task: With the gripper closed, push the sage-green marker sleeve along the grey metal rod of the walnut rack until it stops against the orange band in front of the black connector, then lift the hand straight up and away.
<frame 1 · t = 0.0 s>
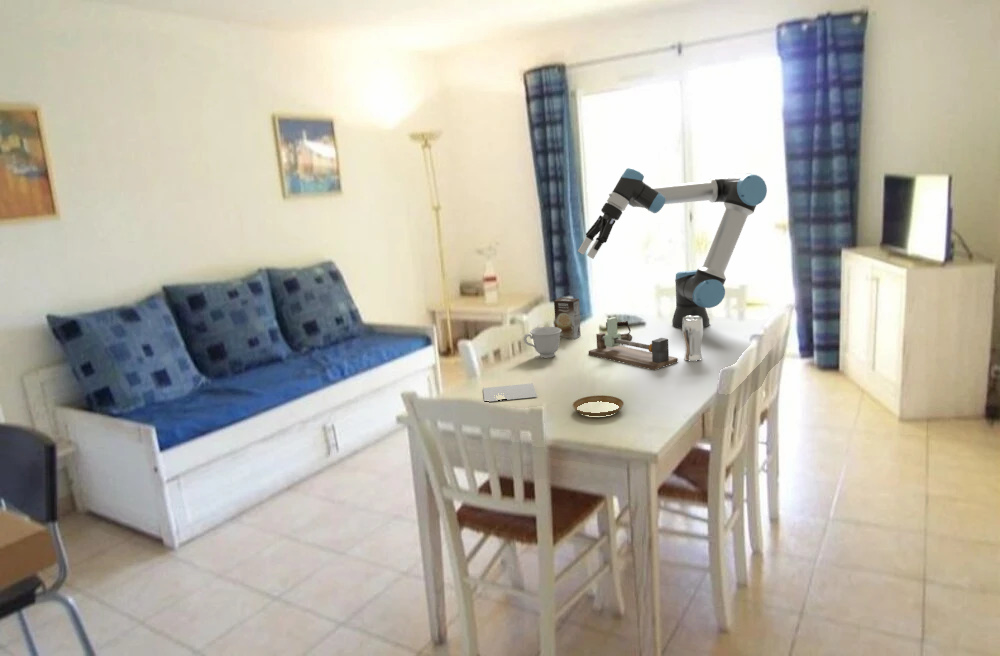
hand: (585, 255, 262), 36 cm above the table, tool tilted 35°, fingers open, 13 cm apart
coffee box: (568, 337, 286), on the table
beer glass: (693, 359, 241), on the table
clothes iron: (617, 340, 275), on the table
rack: (631, 358, 248), on the table
plant saucer: (598, 412, 199), on the table
paper stack: (520, 389, 226), on the table
teacup: (543, 357, 260), on the table
sleeve: (612, 331, 253), point 9 cm above the table, slide at 0.0 cm
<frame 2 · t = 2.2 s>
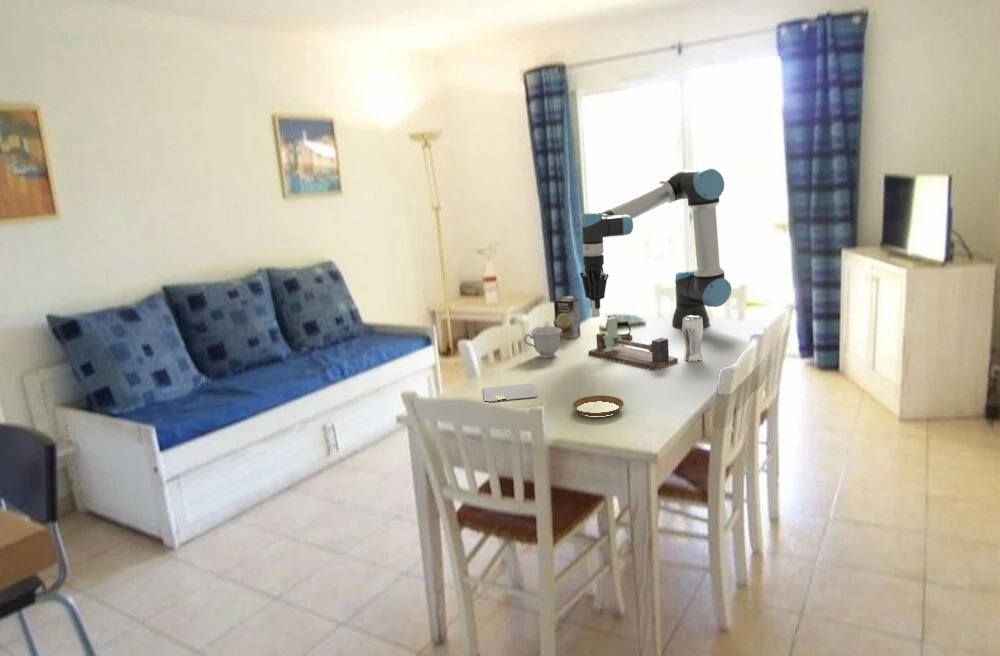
hand: (595, 316, 258), 13 cm above the table, tool pointing down, fingers closed
nothing on the table moved.
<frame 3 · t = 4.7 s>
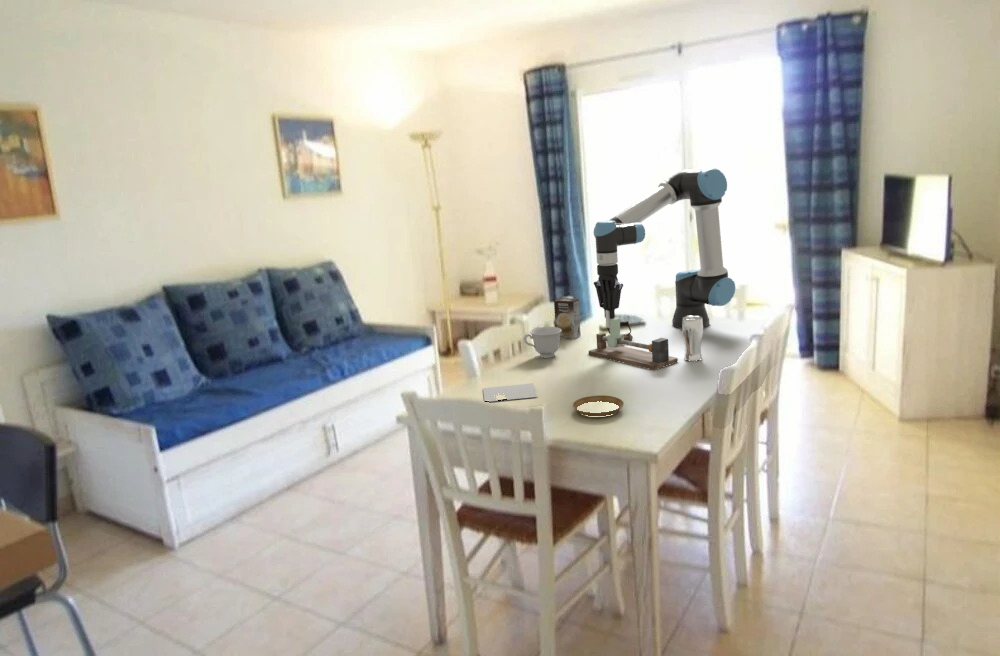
hand: (610, 326, 254), 10 cm above the table, tool pointing down, fingers closed
sleeve: (615, 332, 252), point 9 cm above the table, slide at 1.4 cm, touching gripper
everything else where it was.
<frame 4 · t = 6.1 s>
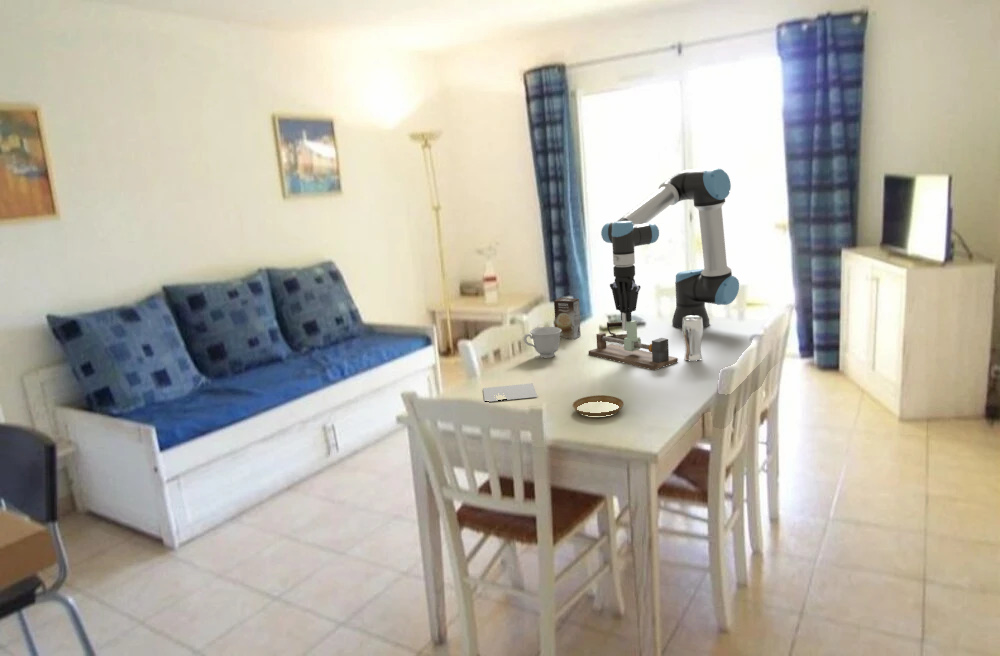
hand: (626, 329, 247), 10 cm above the table, tool pointing down, fingers closed
sleeve: (632, 335, 246), point 9 cm above the table, slide at 9.7 cm, touching gripper
everything else where it was.
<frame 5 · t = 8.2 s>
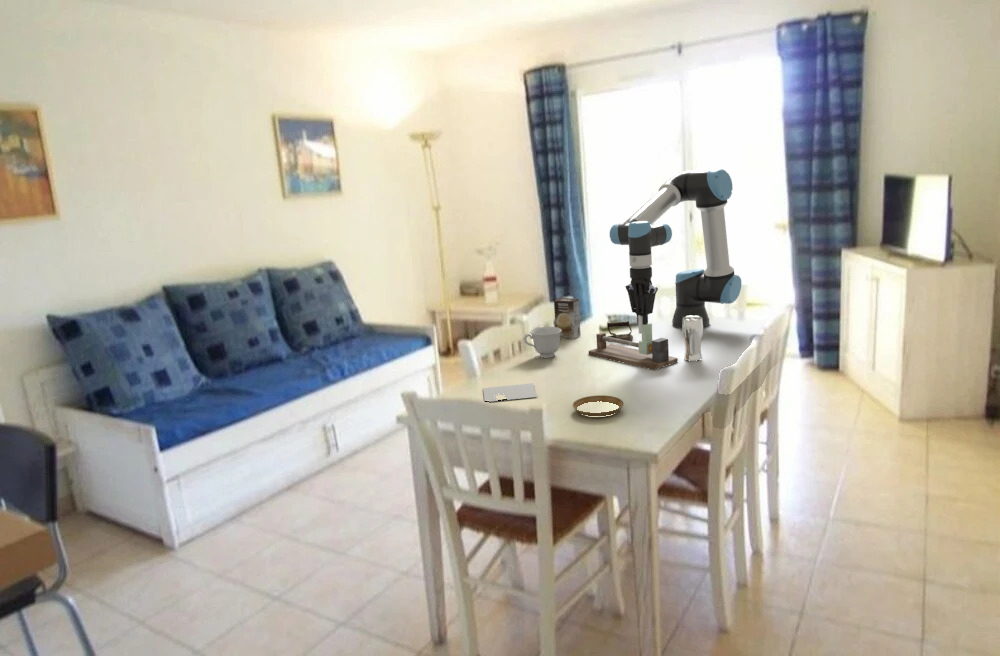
hand: (642, 332, 241), 10 cm above the table, tool pointing down, fingers closed
sleeve: (647, 338, 240), point 9 cm above the table, slide at 16.7 cm, touching gripper, rack
everything else where it was.
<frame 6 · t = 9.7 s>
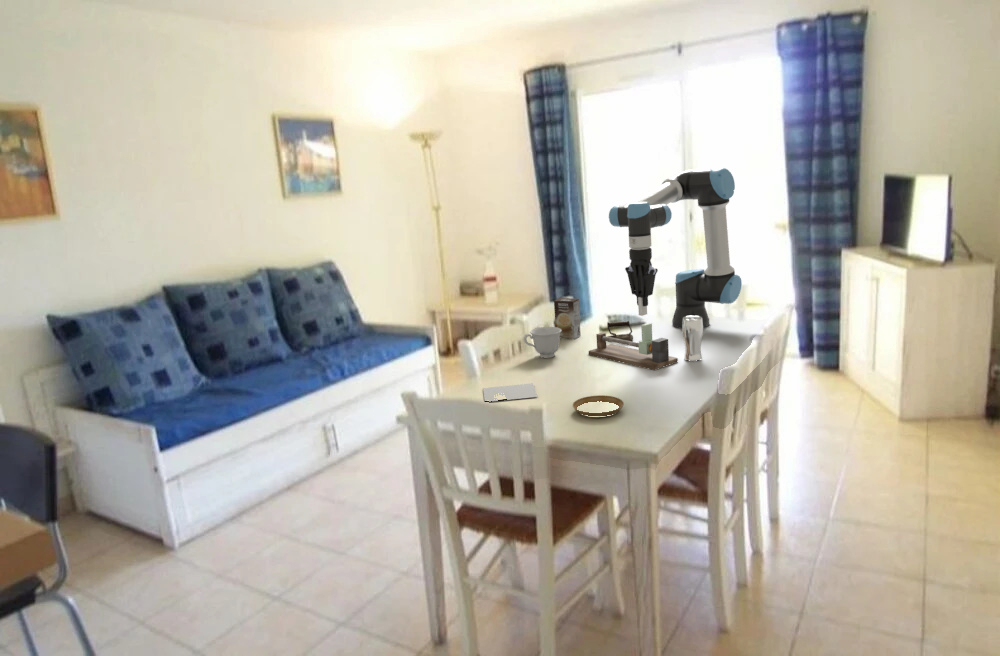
hand: (642, 314, 240), 17 cm above the table, tool pointing down, fingers closed
sleeve: (647, 338, 240), point 9 cm above the table, slide at 16.7 cm, touching rack
everything else where it was.
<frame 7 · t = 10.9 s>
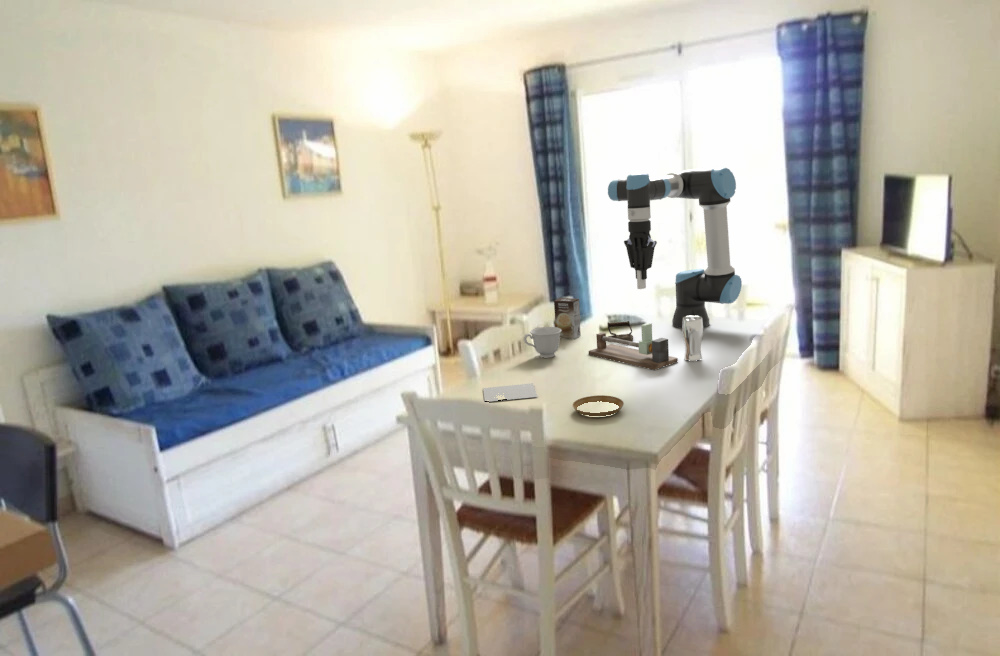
hand: (641, 288, 237), 26 cm above the table, tool pointing down, fingers closed
nothing on the table moved.
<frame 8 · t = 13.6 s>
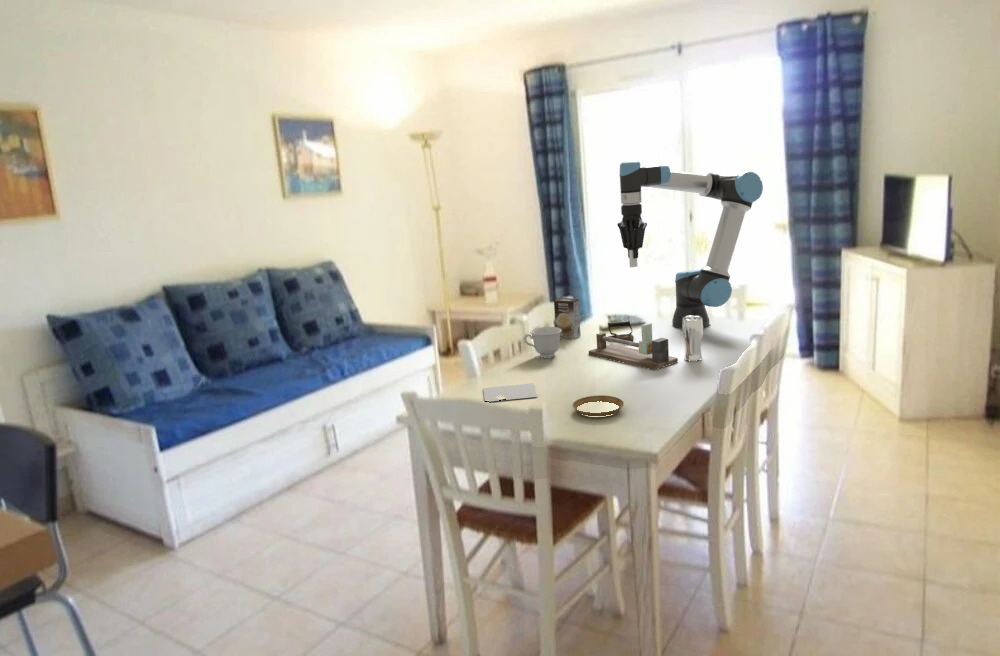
hand: (633, 266, 260), 30 cm above the table, tool pointing down, fingers closed
nothing on the table moved.
at the end: sleeve slide at 16.7 cm; the gripper is holding nothing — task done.
